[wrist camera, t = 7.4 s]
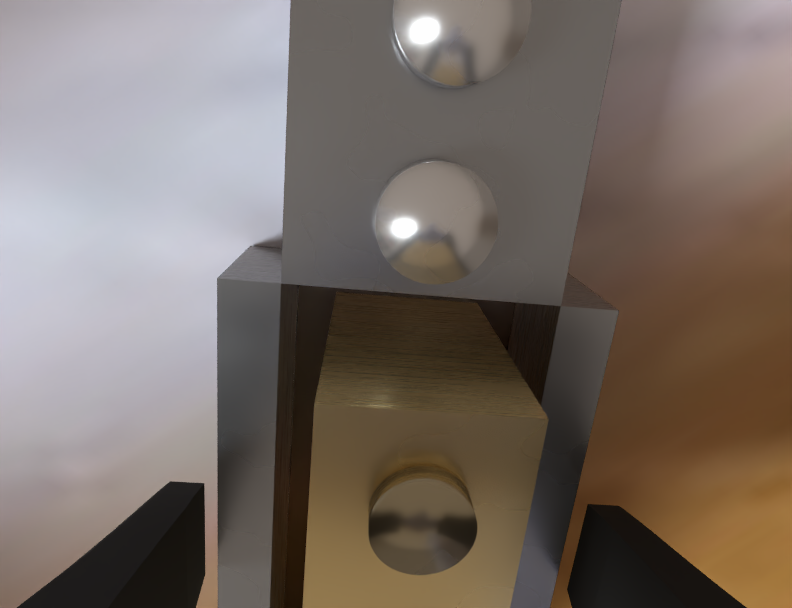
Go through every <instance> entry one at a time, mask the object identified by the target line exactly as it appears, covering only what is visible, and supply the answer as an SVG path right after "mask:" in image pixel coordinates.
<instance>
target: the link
mask: <svg viewBox="0 0 792 608" xmlns="http://www.w3.org/2000/svg"><path fill="white" fill-rule="evenodd" d="M548 420H549V419H548V417H547V415H546V414H545V412H544V411H543V409H542V407H541V406H540V404H539V403H538V401H537V399H536V398H535V396H534V394H533V393H532V391H531V390H530V388H529V386H528V385H527V383H526V381H525V380H524V378H523V377H522V375H521V373H520V372H519V370H518V369H517V367H516V365H515V364H514V362H513V360H512V359H511V357H510V356H509V354H508V352H507V351H506V349H505V347H504V346H503V344H502V343H501V341H500V339H499V338H498V336H497V334H496V333H495V331H494V330H493V328H492V326H491V325H490V323H489V322H488V320H487V318H486V317H485V315H484V313H483V312H482V310H481V309H480V307H479V305H478V304H477V303H470V302H458V301H445V300H433V299H420V298H408V297H395V296H383V295H370V294H358V293H346V292H336V297H335V302H334V307H333V312H332V317H331V322H330V327H329V332H328V337H327V342H326V347H325V353H324V358H323V363H322V368H321V373H320V378H319V383H318V388H317V393H316V398H315V403H314V418H313V435H312V452H311V469H310V487H309V504H308V521H307V538H306V556H305V573H304V590H303V607H302V608H510V606H511V601H512V596H513V591H514V586H515V581H516V577H517V572H518V567H519V562H520V557H521V552H522V547H523V542H524V537H525V533H526V528H527V523H528V518H529V513H530V508H531V503H532V498H533V494H534V489H535V484H536V479H537V474H538V469H539V464H540V459H541V454H542V450H543V445H544V440H545V435H546V430H547V425H548Z"/></svg>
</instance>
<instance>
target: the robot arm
mask: <svg viewBox="0 0 792 608" xmlns="http://www.w3.org/2000/svg"><path fill="white" fill-rule="evenodd" d="M204 576H205V506H204V483H187V482H169V483H168V484H167V485H165V486H164V487H163V488H162V489H161V490H159V491H158V492H157V493H156V494H155V495H153V496H152V497H151V498H150V499H149V500H148V501H147V502H145V503H144V504H143V505H142V506H141V507H140V508H139V509H137V510H136V511H135V512H134V513H133V514H132V515H131V516H129V517H128V518H127V519H126V520H125V521H124V522H123V523H121V524H120V525H119V526H118V527H117V528H116V529H114V530H113V531H112V532H111V533H110V534H109V535H107V536H106V537H105V538H104V539H103V540H101V541H100V542H99V543H98V544H97V545H95V546H94V547H93V548H92V549H91V550H89V551H88V552H87V553H86V554H85V555H83V556H82V557H81V558H80V559H79V560H77V561H76V562H75V563H74V564H73V565H71V566H70V567H69V568H68V569H66V570H65V571H64V572H63V573H61V574H60V575H59V576H57V577H56V578H55V579H53V580H52V581H51V582H50V583H48V584H47V585H46V586H44V587H43V588H42V589H40V590H39V591H38V592H36V593H35V594H34V595H33V596H31V597H30V598H29V599H27V600H26V601H25V602H23V603H22V604H21V605H20V606H18V607H17V608H196V605H197V601H198V598H199V594H200V591H201V587H202V584H203V580H204ZM567 590H568V594H569V597H570V601H571V605H572V608H746V607H745V606H744V605H743V604H741V603H740V602H739V601H737V600H736V599H735V598H733V597H732V596H731V595H730V594H728V593H727V592H726V591H725V590H723V589H722V588H721V587H719V586H718V585H717V584H716V583H714V582H713V581H712V580H711V579H709V578H708V577H707V576H706V575H704V574H703V573H702V572H701V571H699V570H698V569H697V568H696V567H695V566H693V565H692V564H691V563H690V562H688V561H687V560H686V559H685V558H684V557H682V556H681V555H680V554H679V553H677V552H676V551H675V550H674V549H673V548H671V547H670V546H669V545H668V544H667V543H665V542H664V541H663V540H662V539H660V538H659V537H658V536H657V535H656V534H654V533H653V532H652V531H651V530H649V529H648V528H647V527H646V526H644V525H643V524H642V523H641V522H639V521H638V520H637V519H636V518H634V517H633V516H632V515H630V514H629V513H628V512H626V511H625V510H624V509H622V508H621V507H620V506H611V505H592V504H588V506H587V510H586V514H585V518H584V522H583V527H582V531H581V535H580V539H579V543H578V547H577V551H576V555H575V560H574V564H573V568H572V572H571V576H570V580H569V584H568V588H567Z"/></svg>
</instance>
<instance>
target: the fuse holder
mask: <svg viewBox="0 0 792 608" xmlns="http://www.w3.org/2000/svg"><path fill="white" fill-rule="evenodd" d="M621 1H622V0H291V9H290V38H289V67H288V95H287V124H286V153H285V182H284V210H283V239H282V249H281V248H269V247H258V246H250V247H249V248H248V249H247V250H246V251H245V252H244V253H243V254H242V255H241V256H240V257H239V258H237V259H236V260H235V261H234V262H233V263H232V264H231V265H230V266H229V267H228V268H227V269H226V270H225V271H224V272H223V273H222V274H221V275H220V276H219V277H218V278H217V387H218V608H284V598H285V576H286V554H287V532H288V509H289V487H290V465H291V443H292V421H293V398H294V376H295V354H296V332H297V309H298V287H299V285H306V286H318V287H331V288H343V289H356V290H368V291H380V292H393V293H405V294H417V295H430V296H442V297H455V298H467V299H479V300H492V301H504V302H516V303H515V309H514V314H513V320H512V326H511V332H510V338H509V343H508V349H507V352H508V354H509V356H510V357H511V359H512V360H513V362H514V364H515V365H516V367H517V369H518V370H519V372H520V373H521V375H522V377H523V378H524V380H525V381H526V383H527V385H528V386H529V388H530V390H531V391H532V393H533V394H534V396H535V398H536V399H537V401H538V403H539V404H540V406H541V407H542V409H543V411H544V412H545V414H546V415H547V417H548V419H549V420H548V425H547V430H546V435H545V440H544V445H543V450H542V454H541V459H540V464H539V469H538V474H537V479H536V484H535V489H534V494H533V498H532V503H531V508H530V513H529V518H528V523H527V528H526V533H525V537H524V542H523V547H522V552H521V557H520V562H519V567H518V572H517V577H516V581H515V586H514V591H513V596H512V601H511V606H510V608H550V605H551V600H552V596H553V592H554V587H555V583H556V579H557V574H558V570H559V566H560V562H561V557H562V553H563V549H564V544H565V540H566V536H567V532H568V527H569V523H570V519H571V514H572V510H573V506H574V502H575V497H576V493H577V489H578V484H579V480H580V476H581V472H582V467H583V463H584V459H585V454H586V450H587V446H588V442H589V437H590V433H591V429H592V424H593V420H594V416H595V412H596V407H597V403H598V399H599V394H600V390H601V386H602V382H603V377H604V373H605V369H606V364H607V360H608V356H609V352H610V347H611V343H612V339H613V334H614V330H615V326H616V322H617V317H618V313H619V310H617V309H616V308H615V307H613V306H612V305H610V304H609V303H608V302H606V301H605V300H604V299H602V298H601V297H600V296H598V295H597V294H596V293H594V292H593V291H591V290H590V289H589V288H587V287H586V286H585V285H583V284H582V283H581V282H579V281H578V280H577V279H575V278H574V277H572V276H571V275H570V274H568V267H569V262H570V257H571V252H572V247H573V242H574V237H575V232H576V227H577V222H578V217H579V212H580V207H581V202H582V197H583V192H584V187H585V182H586V177H587V172H588V167H589V162H590V157H591V152H592V147H593V142H594V137H595V132H596V127H597V121H598V116H599V111H600V106H601V101H602V96H603V91H604V86H605V81H606V76H607V71H608V66H609V61H610V56H611V51H612V46H613V41H614V36H615V31H616V26H617V21H618V16H619V11H620V6H621Z"/></svg>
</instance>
